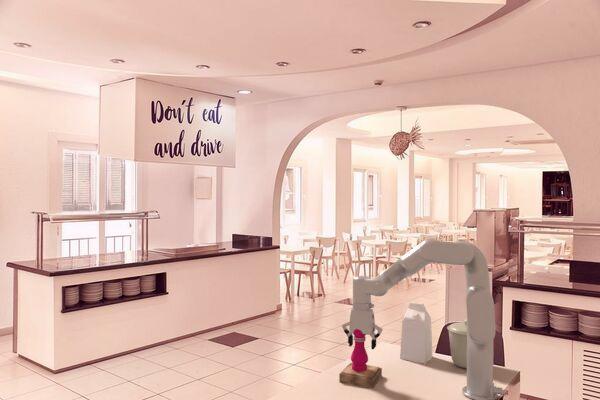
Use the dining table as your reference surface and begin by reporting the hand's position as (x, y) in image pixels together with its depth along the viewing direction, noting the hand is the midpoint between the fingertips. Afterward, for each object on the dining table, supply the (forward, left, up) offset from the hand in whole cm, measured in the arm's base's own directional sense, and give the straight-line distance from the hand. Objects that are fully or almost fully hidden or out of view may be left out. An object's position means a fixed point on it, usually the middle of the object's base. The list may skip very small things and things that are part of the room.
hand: (362, 347), depth 194 cm
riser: (0, 0, -14) cm, 13 cm away
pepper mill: (+1, 0, -10) cm, 10 cm away
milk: (-16, -37, -14) cm, 42 cm away
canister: (-39, -37, -14) cm, 55 cm away
